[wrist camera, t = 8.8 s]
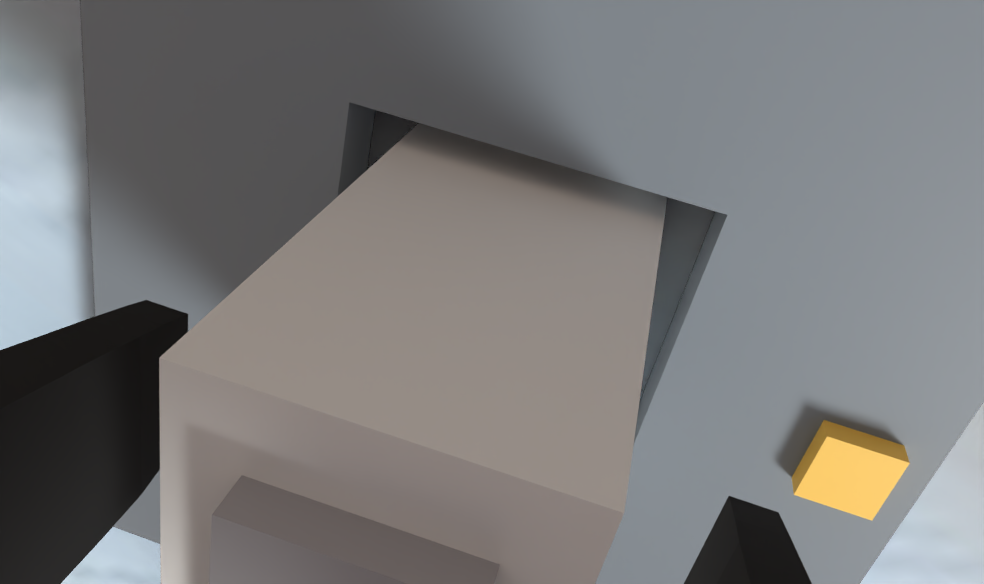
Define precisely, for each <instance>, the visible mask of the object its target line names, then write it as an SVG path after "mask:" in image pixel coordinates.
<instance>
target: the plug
mask: <svg viewBox="0 0 984 584" xmlns="http://www.w3.org/2000/svg"><path fill="white" fill-rule="evenodd" d="M666 204H667V197H665V196H662V195H659V194H655V193H652V192H649V191H645V190H642V189H639V188H635V187H632V186H628V185H625V184H622V183H618V182H615V181H612V180H608V179H605V178H602V177H598V176H595V175H592V174H588V173H585V172H582V171H578V170H575V169H572V168H568V167H565V166H561V165H558V164H555V163H551V162H548V161H545V160H541V159H538V158H535V157H531V156H528V155H525V154H521V153H518V152H515V151H511V150H508V149H505V148H501V147H498V146H494V145H491V144H488V143H484V142H481V141H478V140H474V139H471V138H468V137H464V136H461V135H458V134H454V133H451V132H448V131H444V130H441V129H438V128H434V127H431V126H427V125H424V124H421V123H419V124H418V125H416V126H415V127H414V128H413V129H412V130H411V131H410V132H409V133H408V134H406V135H405V136H404V137H403V138H402V139H401V140H400V141H399V142H398V143H396V144H395V145H394V146H393V147H392V148H391V149H390V150H389V151H388V152H387V153H385V154H384V155H383V156H382V157H381V158H380V159H379V160H378V161H377V162H375V163H374V164H373V165H372V166H371V167H370V168H369V169H368V170H367V171H365V172H364V173H363V174H362V175H361V176H360V177H359V178H358V179H357V180H356V181H354V182H353V183H352V184H351V185H350V186H349V187H348V188H347V189H346V190H344V191H343V192H342V193H341V194H340V195H339V196H338V197H337V198H336V199H334V200H333V201H332V202H331V203H330V204H329V205H328V206H327V207H326V208H325V209H323V210H322V211H321V212H320V213H319V214H318V215H317V216H316V217H315V218H313V219H312V220H311V221H310V222H309V223H308V224H307V225H306V226H305V227H303V228H302V229H301V230H300V231H299V232H298V233H297V234H296V235H295V236H294V237H292V238H291V239H290V240H289V241H288V242H287V243H286V244H285V245H284V246H282V247H281V248H280V249H279V250H278V251H277V252H276V253H275V254H274V255H272V256H271V257H270V258H269V259H268V260H267V261H266V262H265V263H264V264H263V265H261V266H260V267H259V268H258V269H257V270H256V271H255V272H254V273H253V274H251V275H250V276H249V277H248V278H247V279H246V280H245V281H244V282H243V283H241V284H240V285H239V286H238V287H237V288H236V289H235V290H234V291H233V292H232V293H230V294H229V295H228V296H227V297H226V298H225V299H224V300H223V301H222V302H220V303H219V304H218V305H217V306H216V307H215V308H214V309H213V310H212V311H210V312H209V313H208V314H207V315H206V316H205V317H204V318H203V319H202V320H201V321H199V322H198V323H197V324H196V325H195V326H194V327H193V328H192V329H191V330H189V331H188V332H187V333H186V334H185V335H184V336H183V337H182V338H181V339H179V340H178V341H177V342H176V343H175V344H174V345H173V346H172V347H171V348H170V349H168V350H167V351H166V352H165V353H164V354H163V355H162V356H161V357H160V358H159V399H160V549H161V584H595V582H596V580H597V578H598V575H599V573H600V570H601V568H602V566H603V563H604V561H605V558H606V556H607V553H608V551H609V549H610V546H611V544H612V541H613V539H614V537H615V534H616V532H617V529H618V527H619V524H620V522H621V520H622V517H623V515H624V511H625V503H626V496H627V489H628V482H629V474H630V467H631V460H632V452H633V445H634V438H635V430H636V423H637V416H638V409H639V401H640V394H641V387H642V379H643V372H644V365H645V358H646V350H647V343H648V336H649V328H650V321H651V314H652V306H653V299H654V292H655V285H656V277H657V270H658V263H659V255H660V248H661V241H662V234H663V226H664V219H665V212H666Z"/></svg>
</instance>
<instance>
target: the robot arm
mask: <svg viewBox="0 0 984 584" xmlns="http://www.w3.org/2000/svg"><path fill="white" fill-rule="evenodd" d="M187 332H188V314H187V313H184V312H181V311H178V310H175V309H172V308H169V307H166V306H163V305H160V304H157V303H154V302H151V301H148V300H144V301H141V302H137V303H134V304H131V305H127V306H124V307H121V308H118V309H115V310H112V311H110V312H107V313H104V314H101V315H98V316H95V317H92V318H90V319H87V320H84V321H81V322H78V323H76V324H73V325H70V326H67V327H65V328H62V329H59V330H56V331H53V332H51V333H48V334H45V335H42V336H39V337H37V338H34V339H31V340H28V341H25V342H22V343H20V344H17V345H14V346H11V347H8V348H5V349H3V350H0V584H61V583H62V581H63V580H64V579H65V578H66V577H67V576H68V575H69V574H70V573H71V572H72V571H73V569H74V568H75V567H76V566H77V565H78V564H79V563H80V562H81V561H82V560H83V559H84V558H85V556H86V555H87V554H88V553H89V552H90V551H91V550H92V549H93V548H94V547H95V546H96V545H97V543H98V542H99V541H100V540H101V539H102V538H103V537H104V536H105V535H106V534H107V532H108V531H109V530H110V529H111V528H112V527H113V526H114V525H115V524H116V522H117V521H118V520H119V519H120V518H121V517H122V516H123V515H124V514H125V513H126V511H127V510H128V509H129V508H130V507H131V506H132V505H133V504H134V502H135V501H136V500H137V499H138V498H139V497H140V496H141V494H142V493H143V492H144V490H145V489H146V488H147V486H148V485H149V484H150V482H151V481H152V479H153V478H154V477H155V475H156V474H157V473H158V471H159V470H160V399H159V358H160V357H161V356H162V355H163V354H164V353H165V352H166V351H167V350H168V349H170V348H171V347H172V346H173V345H174V344H175V343H176V342H177V341H178V340H179V339H181V338H182V337H183V336H184V335H185V334H186V333H187ZM684 584H812V582H811V580H810V578H809V576H808V574H807V572H806V570H805V567H804V565H803V563H802V561H801V559H800V557H799V554H798V552H797V550H796V548H795V546H794V544H793V541H792V539H791V537H790V535H789V533H788V531H787V529H786V527H785V525H784V523H783V520H782V518H781V516H780V514H779V512H776V511H773V510H770V509H767V508H764V507H761V506H758V505H755V504H752V503H749V502H746V501H743V500H740V499H737V498H734V497H731V496H728V498H727V500H726V502H725V504H724V506H723V508H722V510H721V512H720V514H719V516H718V518H717V520H716V522H715V524H714V526H713V528H712V529H711V531H710V533H709V535H708V537H707V539H706V541H705V543H704V545H703V547H702V549H701V551H700V553H699V555H698V557H697V559H696V561H695V563H694V565H693V567H692V568H691V570H690V572H689V574H688V576H687V578H686V580H685V582H684Z"/></svg>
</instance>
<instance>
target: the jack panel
mask: <svg viewBox="0 0 984 584" xmlns="http://www.w3.org/2000/svg"><path fill="white" fill-rule="evenodd" d="M80 10H81V31H82V52H83V73H84V94H85V115H86V136H87V157H88V178H89V199H90V220H91V241H92V262H93V283H94V304H95V316H98V315H101V314H104V313H107V312H110V311H112V310H115V309H118V308H121V307H124V306H127V305H131V304H134V303H137V302H141V301H144V300H148V301H151V302H154V303H157V304H160V305H163V306H166V307H169V308H172V309H175V310H178V311H181V312H184V313H187V314H188V331H189V330H191V329H192V328H193V327H194V326H195V325H196V324H197V323H198V322H199V321H201V320H202V319H203V318H204V317H205V316H206V315H207V314H208V313H209V312H210V311H212V310H213V309H214V308H215V307H216V306H217V305H218V304H219V303H220V302H222V301H223V300H224V299H225V298H226V297H227V296H228V295H229V294H230V293H232V292H233V291H234V290H235V289H236V288H237V287H238V286H239V285H240V284H241V283H243V282H244V281H245V280H246V279H247V278H248V277H249V276H250V275H251V274H253V273H254V272H255V271H256V270H257V269H258V268H259V267H260V266H261V265H263V264H264V263H265V262H266V261H267V260H268V259H269V258H270V257H271V256H272V255H274V254H275V253H276V252H277V251H278V250H279V249H280V248H281V247H282V246H284V245H285V244H286V243H287V242H288V241H289V240H290V239H291V238H292V237H294V236H295V235H296V234H297V233H298V232H299V231H300V230H301V229H302V228H303V227H305V226H306V225H307V224H308V223H309V222H310V221H311V220H312V219H313V218H315V217H316V216H317V215H318V214H319V213H320V212H321V211H322V210H323V209H325V208H326V207H327V206H328V205H329V204H330V203H331V202H332V201H333V200H334V199H336V198H337V197H338V196H339V195H340V194H341V193H342V192H343V191H344V190H346V189H347V188H348V187H349V186H350V185H351V184H352V183H353V182H354V181H356V180H357V179H358V178H359V177H360V176H361V175H362V174H363V173H364V172H365V171H367V164H368V157H369V150H370V143H371V136H372V129H373V123H374V116H375V110H377V111H381V112H384V113H387V114H391V115H394V116H397V117H401V118H404V119H407V120H411V121H414V122H417V123H421V124H424V125H427V126H431V127H434V128H438V129H441V130H444V131H448V132H451V133H454V134H458V135H461V136H464V137H468V138H471V139H474V140H478V141H481V142H484V143H488V144H491V145H494V146H498V147H501V148H505V149H508V150H511V151H515V152H518V153H521V154H525V155H528V156H531V157H535V158H538V159H541V160H545V161H548V162H551V163H555V164H558V165H561V166H565V167H568V168H572V169H575V170H578V171H582V172H585V173H588V174H592V175H595V176H598V177H602V178H605V179H608V180H612V181H615V182H618V183H622V184H625V185H628V186H632V187H635V188H639V189H642V190H645V191H649V192H652V193H655V194H659V195H662V196H665V197H669V198H672V199H675V200H679V201H682V202H685V203H689V204H692V205H695V206H699V207H702V208H706V209H709V210H712V211H715V214H714V216H713V219H712V221H711V224H710V226H709V229H708V231H707V234H706V236H705V239H704V241H703V244H702V246H701V249H700V251H699V254H698V256H697V259H696V261H695V264H694V267H693V269H692V272H691V274H690V277H689V279H688V282H687V284H686V287H685V289H684V292H683V294H682V297H681V299H680V302H679V304H678V307H677V309H676V312H675V314H674V317H673V319H672V322H671V324H670V327H669V329H668V332H667V334H666V337H665V339H664V342H663V344H662V347H661V349H660V352H659V354H658V357H657V359H656V362H655V364H654V367H653V369H652V372H651V374H650V377H649V379H648V382H647V384H646V387H645V389H644V392H643V394H642V397H641V399H640V402H639V409H638V416H637V423H636V430H635V438H634V445H633V452H632V460H631V467H630V474H629V482H628V489H627V496H626V503H625V511H624V515H623V517H622V520H621V522H620V524H619V527H618V529H617V532H616V534H615V537H614V539H613V541H612V544H611V546H610V549H609V551H608V553H607V556H606V558H605V561H604V563H603V566H602V568H601V570H600V573H599V575H598V578H597V580H596V582H595V584H684V582H685V580H686V578H687V576H688V574H689V572H690V570H691V568H692V567H693V565H694V563H695V561H696V559H697V557H698V555H699V553H700V551H701V549H702V547H703V545H704V543H705V541H706V539H707V537H708V535H709V533H710V531H711V529H712V528H713V526H714V524H715V522H716V520H717V518H718V516H719V514H720V512H721V510H722V508H723V506H724V504H725V502H726V500H727V498H728V496H731V497H734V498H737V499H740V500H743V501H746V502H749V503H752V504H755V505H758V506H761V507H764V508H767V509H770V510H773V511H776V512H779V514H780V516H781V518H782V520H783V523H784V525H785V527H786V529H787V531H788V533H789V535H790V537H791V539H792V541H793V544H794V546H795V548H796V550H797V552H798V554H799V557H800V559H801V561H802V563H803V565H804V567H805V570H806V572H807V574H808V576H809V578H810V580H811V582H812V584H860V582H861V581H862V580H863V578H864V577H865V575H866V574H867V572H868V571H869V569H870V568H871V566H872V565H873V563H874V562H875V561H876V559H877V558H878V556H879V555H880V553H881V552H882V550H883V549H884V547H885V546H886V544H887V543H888V541H889V540H890V539H891V537H892V536H893V534H894V533H895V531H896V530H897V528H898V527H899V525H900V524H901V522H902V521H903V520H904V518H905V517H906V515H907V514H908V512H909V511H910V509H911V508H912V506H913V505H914V503H915V502H916V500H917V499H918V498H919V496H920V495H921V493H922V492H923V490H924V489H925V487H926V486H927V484H928V483H929V481H930V480H931V479H932V477H933V476H934V474H935V473H936V471H937V470H938V468H939V467H940V465H941V464H942V462H943V461H944V460H945V458H946V457H947V455H948V454H949V452H950V451H951V449H952V448H953V446H954V445H955V443H956V442H957V440H958V439H959V438H960V436H961V435H962V433H963V432H964V430H965V429H966V427H967V426H968V424H969V423H970V421H971V420H972V419H973V417H974V416H975V414H976V413H977V411H978V410H979V408H980V407H981V405H982V404H983V402H984V0H80ZM113 527H116V528H118V529H121V530H124V531H126V532H129V533H132V534H135V535H137V536H140V537H143V538H146V539H148V540H151V541H154V542H157V543H159V544H160V470H159V471H158V473H157V474H156V475H155V477H154V478H153V479H152V481H151V482H150V484H149V485H148V486H147V488H146V489H145V490H144V492H143V493H142V494H141V496H140V497H139V498H138V499H137V500H136V501H135V502H134V504H133V505H132V506H131V507H130V508H129V509H128V510H127V511H126V513H125V514H124V515H123V516H122V517H121V518H120V519H119V520H118V521H117V522H116V524H115V525H114V526H113Z"/></svg>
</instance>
